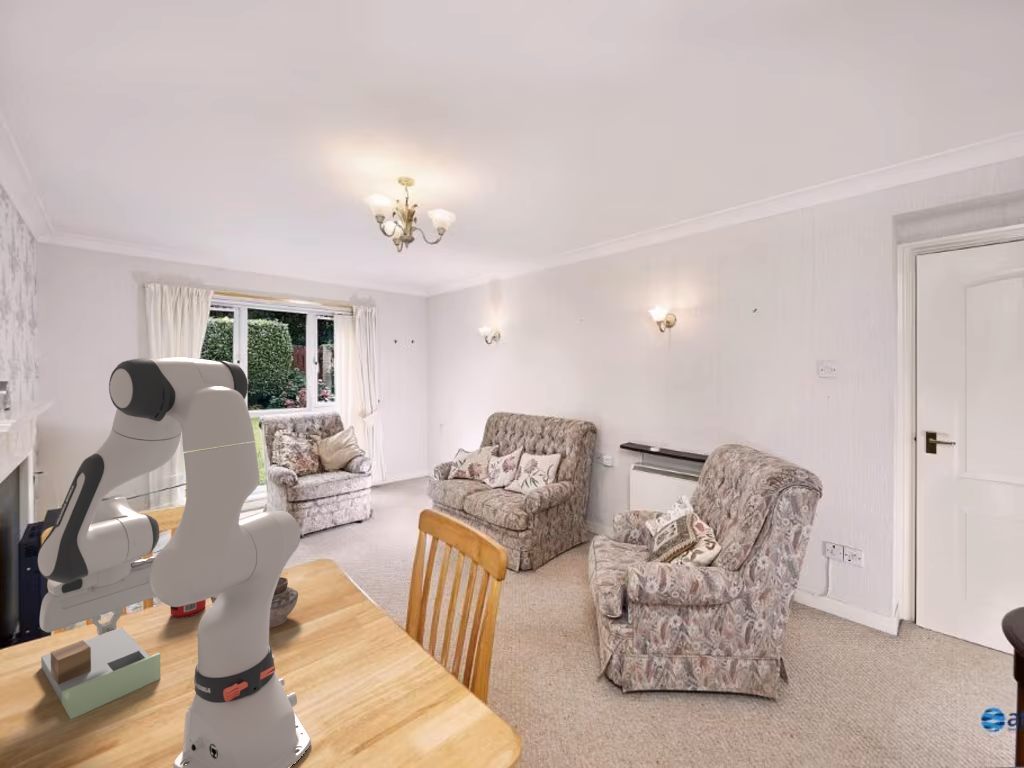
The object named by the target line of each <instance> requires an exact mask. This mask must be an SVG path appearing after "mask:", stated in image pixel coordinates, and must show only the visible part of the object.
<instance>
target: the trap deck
mask: <svg viewBox="0 0 1024 768" xmlns="http://www.w3.org/2000/svg"><path fill="white" fill-rule="evenodd" d="M83 641H84V642H85V643H86V644H87V645H88V646H89V647H90V648H91V671H89V672H87V673H85V674H82V675H80V676H77V677H75V678H73V679H70V680H68V681H66V682H63V683H61V684H57V682H56V681H55V680H54V679H53V677H52V676H51V652H50V653H47V654H45V655H41V658H40V659H41V664H40V665H41V669H42V672H44V675H45V676H46V678H47V679H48V682H49V683H50V685H51V688H52V689H53V690H54V692H55V694H56V697H58V700H59V701H60V703H61V705H62V707H63V708H64V711H65V712H66V714H67V715H68V717H69V719H70V720H73V719H75V718H78V717H80V716H83V715H84V714H87V713H89V712H91V711H93V710H95V709H97V708H99V707H102V706H104V705H106V704H108V703H111V702H112V701H113V702H114V701H115V700H117V699H119V698H122V697H123V696H126V695H129V694H130V693H133V692H135V691H137V690H139V689H141V688H143V687H146V686H148V685H150V684H152V683H155V682H157V681H159V680H161V653H160V652H157V653H154V654H151V655H149V653H148V652H146V650H144V649H143V647H142V646H141V645H140V644H138V643H137V642H136V640H134V639H133V637H132V636H131V635H130V633H128V632H127V631H126V629H124V627H119V628H116V630H113V631H110V632H107V633H104V634H102V635H98V636H97V635H96V636H94V637H92V638H89V639H86V640H83Z"/></svg>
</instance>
